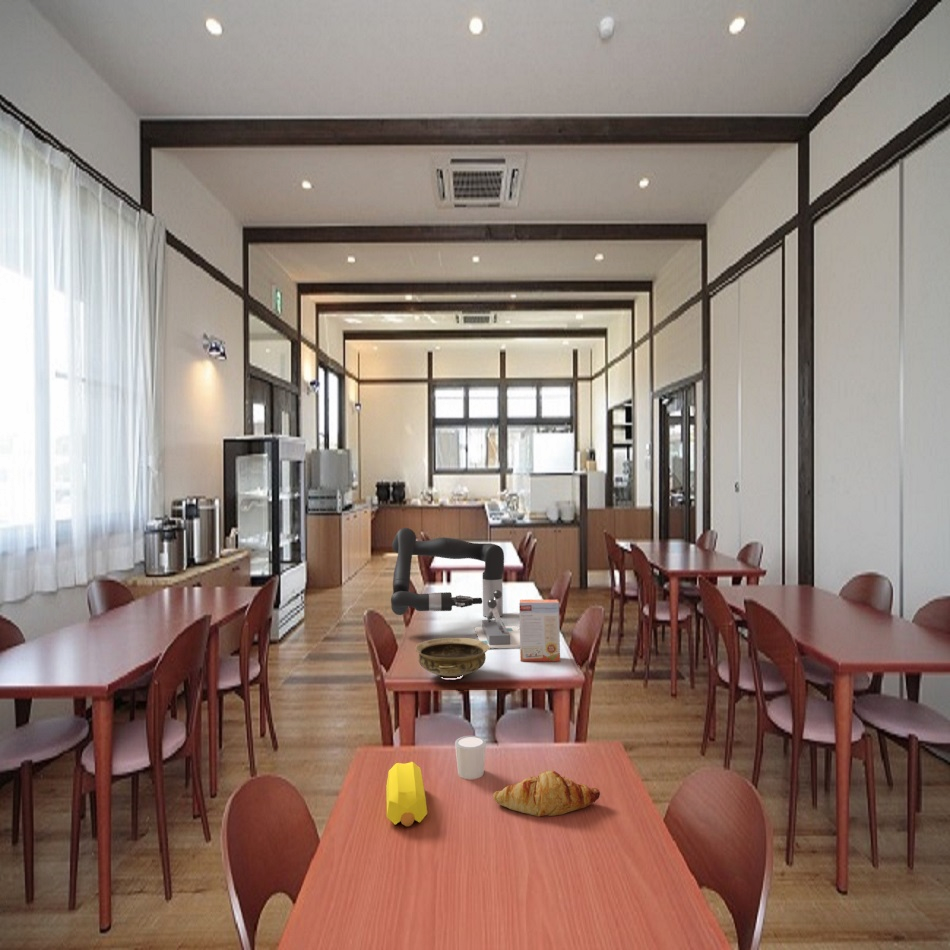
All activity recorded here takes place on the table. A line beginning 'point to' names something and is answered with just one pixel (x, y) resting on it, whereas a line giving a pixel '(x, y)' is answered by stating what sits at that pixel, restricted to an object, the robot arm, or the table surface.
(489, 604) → the lever outer
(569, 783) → the croissant
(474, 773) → the shot glass
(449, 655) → the ceramic bowl
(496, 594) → the lever inner
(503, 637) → the switch unit
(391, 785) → the yellow faceted prism
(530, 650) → the cracker box
